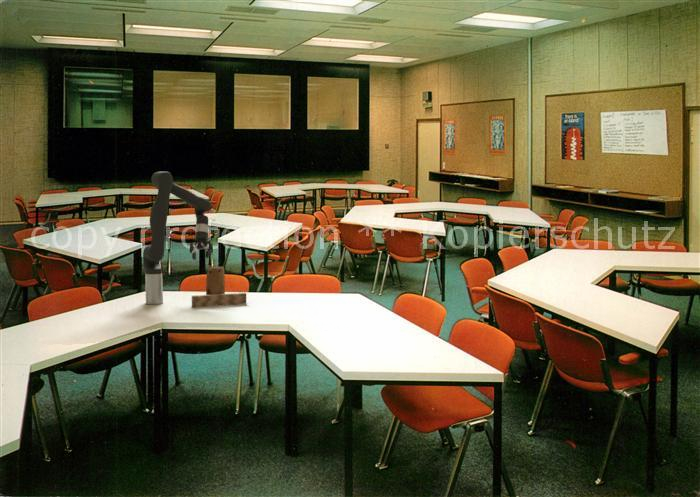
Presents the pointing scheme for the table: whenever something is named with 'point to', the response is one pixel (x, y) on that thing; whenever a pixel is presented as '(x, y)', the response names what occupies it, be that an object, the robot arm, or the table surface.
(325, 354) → the table surface
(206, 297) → the board
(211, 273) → the block
